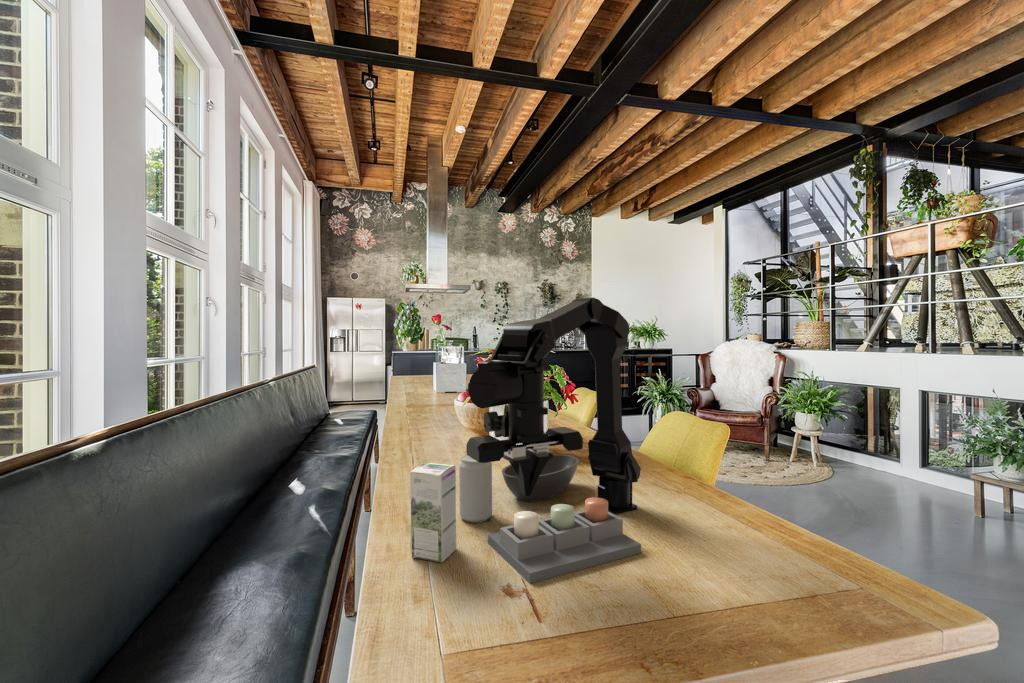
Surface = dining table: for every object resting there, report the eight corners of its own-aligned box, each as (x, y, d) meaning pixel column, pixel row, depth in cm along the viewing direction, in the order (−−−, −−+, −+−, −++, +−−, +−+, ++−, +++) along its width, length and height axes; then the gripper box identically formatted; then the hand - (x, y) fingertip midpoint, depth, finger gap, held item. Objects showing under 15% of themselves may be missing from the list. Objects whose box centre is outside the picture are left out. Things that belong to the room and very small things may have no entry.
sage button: (566, 520, 86) (566, 502, 86) (579, 529, 83) (579, 510, 82) (546, 524, 84) (546, 506, 84) (559, 533, 81) (559, 514, 81)
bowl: (592, 487, 115) (592, 460, 115) (528, 512, 100) (528, 482, 99) (552, 476, 124) (552, 451, 124) (487, 498, 108) (487, 470, 108)
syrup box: (457, 548, 84) (457, 463, 83) (441, 564, 78) (440, 473, 78) (427, 543, 85) (426, 460, 85) (409, 559, 80) (408, 470, 79)
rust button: (598, 513, 89) (598, 496, 89) (612, 521, 86) (612, 503, 86) (580, 517, 88) (580, 499, 87) (593, 525, 84) (594, 507, 84)
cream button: (531, 528, 83) (531, 509, 83) (543, 537, 79) (543, 517, 79) (509, 532, 81) (509, 513, 81) (521, 542, 78) (521, 522, 78)
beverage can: (487, 525, 93) (487, 462, 93) (455, 522, 94) (454, 460, 94) (495, 512, 99) (495, 453, 99) (464, 510, 101) (464, 452, 100)
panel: (587, 521, 95) (587, 499, 95) (641, 553, 82) (641, 527, 82) (488, 543, 86) (487, 519, 85) (529, 583, 72) (529, 555, 72)
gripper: (549, 390, 91) (549, 474, 92) (453, 398, 83) (454, 490, 83) (584, 398, 81) (584, 492, 82) (480, 407, 73) (480, 512, 73)
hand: (526, 496), depth 80 cm, fingers closed
